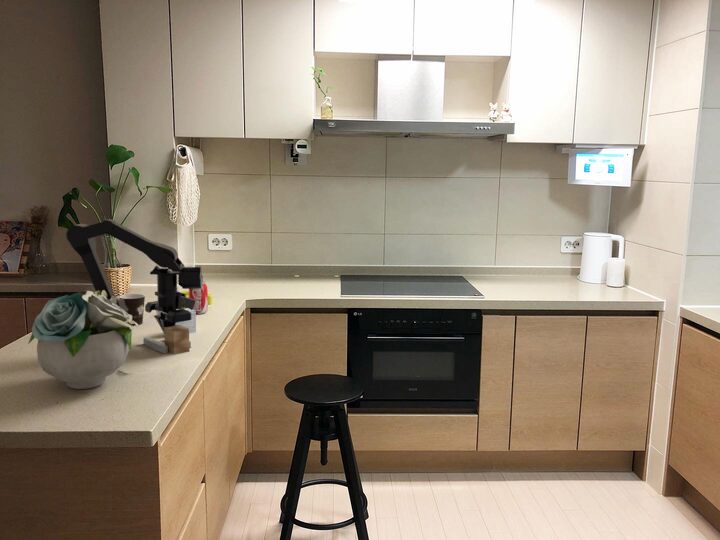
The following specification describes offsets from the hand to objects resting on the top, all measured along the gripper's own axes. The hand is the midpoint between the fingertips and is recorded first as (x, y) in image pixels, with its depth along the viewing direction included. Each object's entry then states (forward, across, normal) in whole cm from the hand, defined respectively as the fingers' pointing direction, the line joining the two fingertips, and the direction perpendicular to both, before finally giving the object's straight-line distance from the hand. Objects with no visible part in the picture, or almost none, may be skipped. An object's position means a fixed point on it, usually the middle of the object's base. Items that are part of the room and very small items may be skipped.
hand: (168, 338), depth 187 cm
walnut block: (+2, -6, 0) cm, 6 cm away
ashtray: (+5, +56, -39) cm, 69 cm away
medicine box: (+4, +12, -11) cm, 17 cm away
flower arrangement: (+3, -15, +30) cm, 34 cm away
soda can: (+4, +39, -32) cm, 51 cm away
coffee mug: (+4, +38, -4) cm, 38 cm away
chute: (+4, +1, 0) cm, 4 cm away
